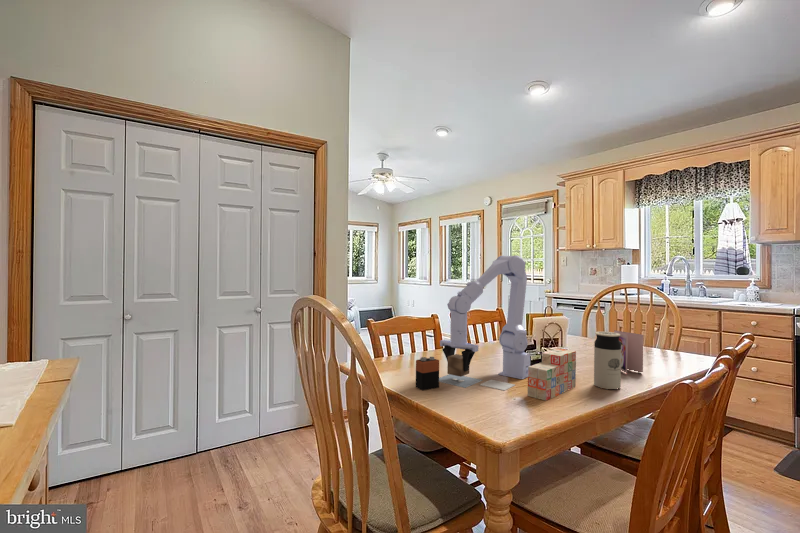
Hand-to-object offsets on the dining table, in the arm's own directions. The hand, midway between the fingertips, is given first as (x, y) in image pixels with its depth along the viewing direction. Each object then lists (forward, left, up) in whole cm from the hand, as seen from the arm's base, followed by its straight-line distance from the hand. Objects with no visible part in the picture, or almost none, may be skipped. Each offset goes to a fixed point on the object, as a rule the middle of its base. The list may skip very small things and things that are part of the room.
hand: (458, 369), depth 141 cm
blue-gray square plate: (0, 0, -4) cm, 4 cm away
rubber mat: (-13, -4, -4) cm, 14 cm away
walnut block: (0, 0, -2) cm, 2 cm away
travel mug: (-41, -28, -4) cm, 50 cm away
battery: (+3, +14, -4) cm, 15 cm away
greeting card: (-42, -55, -4) cm, 69 cm away
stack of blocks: (-29, -10, -4) cm, 31 cm away
